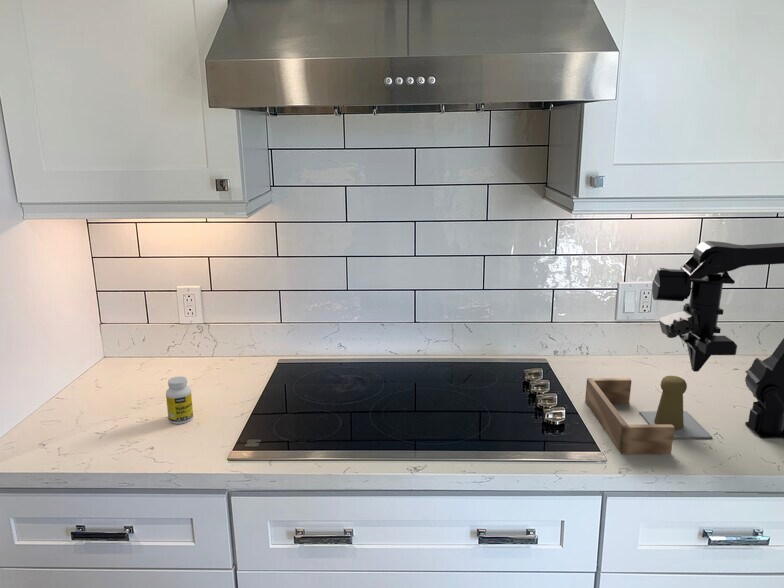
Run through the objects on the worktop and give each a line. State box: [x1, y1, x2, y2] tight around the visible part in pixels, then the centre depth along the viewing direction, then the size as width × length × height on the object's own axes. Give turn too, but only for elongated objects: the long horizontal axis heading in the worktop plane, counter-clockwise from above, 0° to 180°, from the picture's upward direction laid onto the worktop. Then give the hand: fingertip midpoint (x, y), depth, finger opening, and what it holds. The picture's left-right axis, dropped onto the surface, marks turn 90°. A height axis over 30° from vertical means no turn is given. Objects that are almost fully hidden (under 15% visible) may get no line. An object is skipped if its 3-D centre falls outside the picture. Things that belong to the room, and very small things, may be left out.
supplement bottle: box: [165, 375, 194, 425], centre depth 141 cm, size 5×5×10 cm
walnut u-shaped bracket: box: [584, 377, 675, 455], centre depth 138 cm, size 10×24×6 cm, turn 0°
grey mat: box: [638, 410, 713, 440], centre depth 139 cm, size 11×12×1 cm
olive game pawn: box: [654, 375, 688, 430], centre depth 137 cm, size 6×6×11 cm
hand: (695, 370), depth 136 cm, fingers closed
